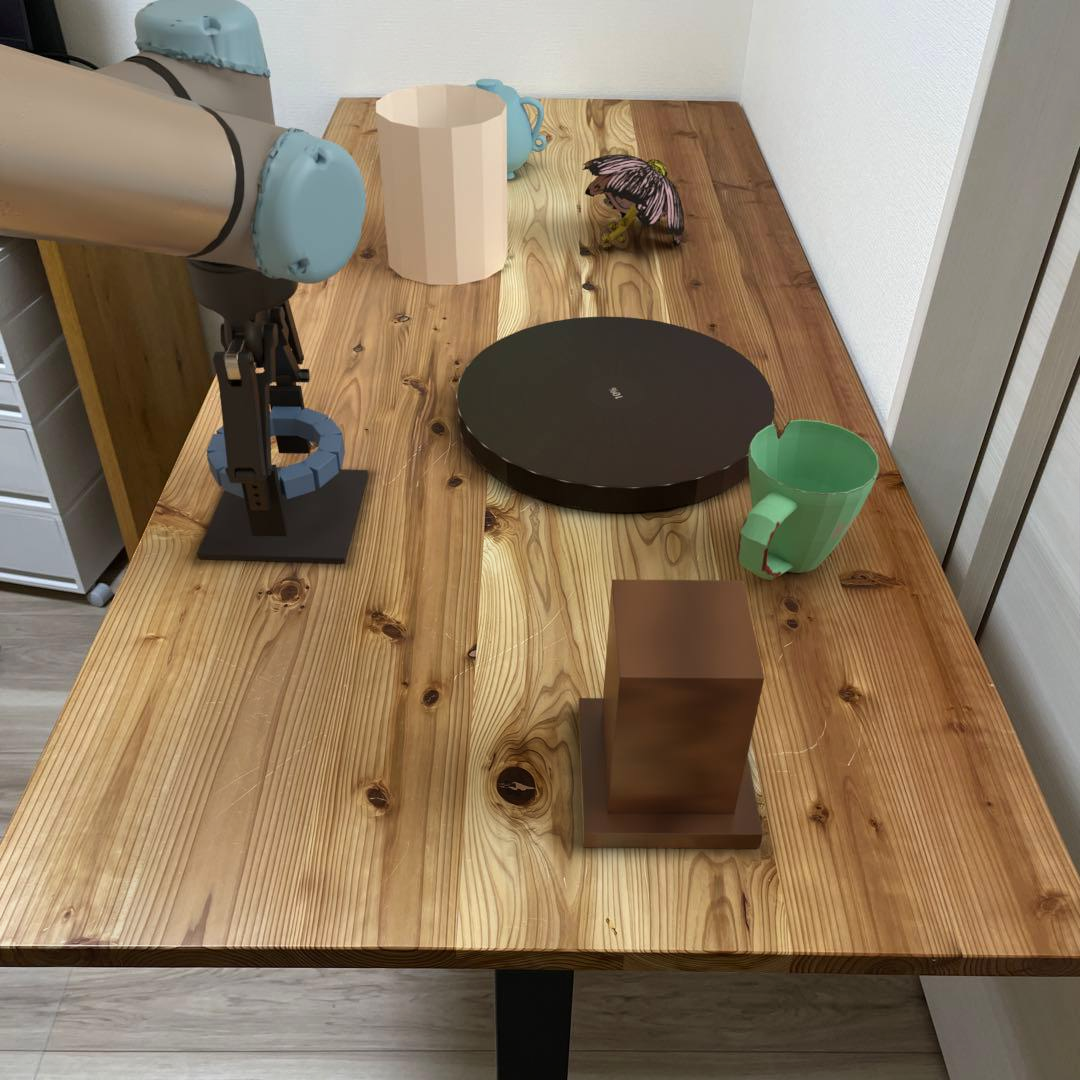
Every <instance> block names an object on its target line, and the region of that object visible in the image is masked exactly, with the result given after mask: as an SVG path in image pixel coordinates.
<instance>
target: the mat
mask: <svg viewBox="0 0 1080 1080" xmlns="http://www.w3.org/2000/svg"><path fill="white" fill-rule="evenodd" d="M276 467H277V466H276ZM279 468H280V466H279V467H277V469H279ZM338 471H339V472H338V474H336V475H335V476H334V477H333V478H331V479H330V480H329V481H328V482H327V483H325V484H324V485H323V486H322V487H321V488H319V487H317V486H315V491H312V492H309V493H306V494H303V495H299V496H296V497H293V498H290V499H286V497H285V496H284V494H283V495H282V499H283V505H284V510H285V516H286V521H287V527H288V533H287V536H252V531H251V527H250V522H249V517H248V512H247V508H246V503H245V498H242V497H240V496H237V495H235V494H233V493H230V492H228V491H225V490H223V492H222V494H221V496H220V498H219V501H218V504H217V506H216V508H215V511H214V513H213V516H212V517H211V520H210V523H209V525H208V526H207V529H206V532H205V534H204V536H203V538H202V541H201V543H200V546H199V548H198V551H197V553H196V555H197V559H198V560H220V561H221V560H224V561H255V562H286V563H287V562H288V563H289V562H290V563H317V564H318V563H319V564H345V563H346V561H347V557H348V553H349V549H350V546H351V542H352V539H353V534H354V531H355V527H356V523H357V519H358V515H359V511H360V508H361V504H362V501H363V500H362V499H363V496H364V493H365V489H366V484H367V481H368V477H369V471H368V470H367V469H345V468H341V469H338Z"/></svg>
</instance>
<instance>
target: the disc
mask: <svg viewBox="0 0 1080 1080" xmlns="http://www.w3.org/2000/svg"><path fill="white" fill-rule="evenodd" d="M455 397H456V403H457V410H458V425H459V431H460V437H461V439H462V441H463V443H464V445H465V447H466V449H467V450H468V452H469V454H470V455H471V456H472V457H473V459H475V461H476V462H477V463H478V464H479V465H480V466H481V467H482V468H483V469H484V470H485V471H487V472H488V473H489V474H491V476H494V477H495V478H497V479H498V480H499V481H501V482H502V483H504V484H505V485H506V486H509V487H511V488H513V489H515V490H518V491H519V492H522V493H524V494H526V495H529V496H530V497H533V498H536V499H540V500H543V501H546V502H550V503H553V504H557V505H559V506H564V507H569V508H576V509H581V510H587V511H594V512H612V513H613V512H614V513H640V512H650V511H651V512H653V511H665V510H668V509H673V508H678V507H683V506H687V505H692V504H695V503H698V502H701V501H704V500H707V499H708V498H712V497H713V496H716V495H719V494H721V493H723V492H725V491H727V490H728V489H730V488H731V487H733V486H734V485H736V484H738V483H739V482H741V481H743V480H744V479H745V478H746V477H747V476H748V475H749V447H750V443H751V441H752V440H753V438H754V436H755V435H756V434H757V433H758V432H760V431H761V430H762V429H764V428H765V427H767V426H769V425H773V424H774V418H775V410H776V403H775V402H776V401H775V398H774V394H773V389H772V387H771V386H770V384H769V382H768V381H767V379H766V377H765V376H764V373H763V372H762V371H761V370H760V369H759V368H758V367H757V366H756V365H754V363H753V362H752V361H751V360H750V359H749V358H748V357H746V355H743V354H742V353H740V352H739V351H737V350H736V349H734V348H733V347H731V346H730V345H729V344H727V343H725V342H722V341H720V340H718V339H716V338H715V337H712V336H710V335H708V334H705V333H702V332H699V331H696V330H694V329H690V328H688V327H684V326H682V325H676V324H673V323H669V322H663V321H658V320H653V319H646V318H639V317H629V316H604V315H603V316H601V315H600V316H584V317H571V318H565V319H559V320H554V321H546V322H543V323H540V324H536V325H532V326H530V327H526V328H522V329H520V330H517V331H515V332H513V333H510V334H508V335H506V336H504V337H502V338H500V339H498V340H496V341H495V342H493V343H491V344H490V345H488V346H487V347H486V348H484V349H482V350H481V351H480V352H479V353H478V354H477V355H476V356H475V357H474V358H473V359H472V360H471V361H470V362H469V363H468V364H467V366H466V368H465V369H464V371H463V373H462V374H461V376H460V378H459V381H458V385H457V390H456V395H455Z"/></svg>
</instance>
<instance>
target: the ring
mask: <svg viewBox="0 0 1080 1080" xmlns="http://www.w3.org/2000/svg"><path fill="white" fill-rule="evenodd" d="M270 432H271V437H276V436H299V437H302V438H305V439H307V440H310V442H312V443H315V445H316V446H317V447H316V450H314V451H313V452H312V453H310V455H308V456H307V457H305V459H303V460H302V461H299V462H296V463H292V464H290V465H289V464H288V465H286V466H283V467H279V469H277V472H278V478H279V483H280V489H281V494H282V495H283V494H284V496H285V497H286V499H290V498H293V497H296V496H299V495H303V494H306V493H309V492H312V491H315V486H317V487H319V488H321V487H322V486H323V485H324V484H325V483H327V482H328V481H329V480H330V479H331V478H333V477H334V476H335V475H336V474H338V472H339V471H338V469H342V466H343V463H344V458H345V454H346V449H345V442H344V435H343V431H342V430H341V429H340V427H339V426H338V425H337V423H336V422H335V420H333V418H332V417H330V418H329V415H328V414H325V413H322V412H320V411H317V410H314V409H311V408H308V407H305V408H304V409H303V410H301V407H273V408H272V411H271V410H270ZM206 458H207V463H208V467H209V471H210V473H211V475H212V477H213V478H214V480H215V482H216V483H217V485H218V487H219V488H221V487H222V490H223V491H224V490H225V491H228V492H230V493H233V494H235V495H237V496H240V497H242V498H244V494H243V489H242V484H241V483H230V481H229V478H228V475H227V474H226V471H225V468H227V467H228V466H227V457H226V447H225V438H224V428H223V425H222V426H221V427H220V428H218V429H217V430H216V433H213V434H212V436H211V439H210V441H209V443H208V445H207V448H206Z"/></svg>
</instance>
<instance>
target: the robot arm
mask: <svg viewBox="0 0 1080 1080" xmlns="http://www.w3.org/2000/svg"><path fill="white" fill-rule="evenodd" d="M134 30H135V36H136V39H135V41H134V44H135V45H136V49H138V53H137V54H135V55H132V56H129V57H126V58H125V59H123V60H122V61H120V62H116V63H114V64H111V65H107V66H104V67H101V68H97V69H94V70H88V69H86V68H81V67H79V66H75V65H72V64H69V63H65V62H62V61H58V60H55V59H53V58H52V59H51V58H48V57H44V56H41V55H39V54H35V53H31V52H28V51H25V50H21V49H18V48H15V47H11V46H8V45H4V44H2V43H0V236H3V237H13V238H19V239H27V240H28V239H29V240H38V241H47V242H54V243H63V244H71V245H80V246H88V247H96V248H97V247H98V248H107V249H114V250H125V251H133V252H141V253H149V254H158V255H165V256H166V255H167V256H171V257H172V256H173V257H177V258H182V259H185V264H186V268H187V273H188V277H189V283H190V287H191V291H192V295H193V297H194V299H195V300H196V301H197V302H198V304H200V305H201V306H202V307H204V308H206V309H207V310H208V309H209V310H210V311H213V312H215V313H217V314H218V315H219V316H221V317H222V318H223V322H222V323H221V324H220V328H219V330H220V334H219V335H220V344H221V346H222V347H223V350H224V351H220V350H219V351H217V350H216V351H214V353H213V357H212V362H213V366H214V370H215V374H216V378H217V383H218V388H219V389H218V391H219V398H220V409H221V418H222V426H223V428H224V438H225V447H226V457H227V466H228V467H227V468H225V471H226V474H227V475H228V478H229V481H230V483H241V484H242V489H243V494H244V498H245V503H246V508H247V512H248V517H249V522H250V527H251V531H252V536H287V533H288V527H287V521H286V516H285V510H284V505H283V499H282V494H281V489H280V483H279V478H278V472H277V464H272V438H271V432H270V411H272V408H273V407H301V410H303V409H304V408H306V407H305V402H304V396H303V389H302V385H298V383H306V384H307V383H310V380H311V377H310V376H311V373H310V369H309V368H300V366H299V365H301V366H302V365H303V364H304V361H305V354H304V352H303V348H302V346H301V341H300V337H299V334H298V330H297V326H296V323H295V318H294V315H293V311H292V307H291V304H290V303H291V302H290V299H291V298H292V297H293V296H294V295H295V293H296V292H297V290H298V287H299V283H300V284H306V285H307V284H308V285H310V284H311V285H312V284H319V283H322V282H325V281H327V280H329V279H331V278H333V276H335V275H336V274H338V273H339V272H340V271H342V269H343V268H344V267H345V266H346V265H347V264H348V262H349V261H350V260H351V258H352V256H353V255H354V253H355V251H356V249H357V247H358V245H359V242H360V240H361V236H362V232H363V231H362V229H363V225H364V218H365V215H366V212H367V195H366V187H365V182H364V179H363V175H362V173H361V170H360V168H359V166H358V163H357V162H356V160H355V159H354V158H353V156H352V155H351V154H350V153H349V152H348V151H347V150H346V149H345V148H344V147H343V146H341V145H339V144H338V143H335V142H334V141H331V140H328V139H325V138H322V137H319V136H315V135H313V134H310V133H309V132H308V131H305V130H303V129H300V128H296V127H288V128H287V127H282V126H280V125H276V119H275V111H274V105H273V95H272V89H271V81H270V78H271V70H270V68H269V66H268V61H267V57H266V52H265V48H264V44H263V38H262V34H261V31H260V25H259V22H258V18H257V17H256V14H255V13H254V11H253V10H252V9H251V8H250V7H249V6H248V5H246V4H244V3H243V2H241V1H239V0H155V1H151V2H149V3H147V5H146V6H144V7H142V8H140V9H139V10H138V12H136V15H135V17H134ZM262 368H263V370H264V371H263V372H257V371H256V370H257V369H262ZM272 383H275V384H273V385H272ZM275 441H276V446H277V451H278V454H295V455H297V454H300V455H305V454H307V455H308V454H310V455H311V451H312V446H311V441H310V440H307V439H305V438H302V437H299V436H275Z"/></svg>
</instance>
